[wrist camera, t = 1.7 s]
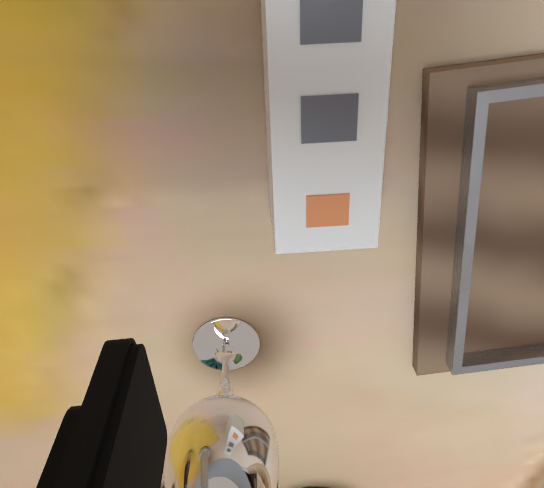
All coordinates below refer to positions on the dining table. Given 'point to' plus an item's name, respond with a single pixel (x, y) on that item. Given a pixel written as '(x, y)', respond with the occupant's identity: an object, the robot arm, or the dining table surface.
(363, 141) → the power strip
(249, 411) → the wineglass
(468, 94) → the board
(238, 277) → the dining table surface
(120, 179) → the dining table surface
